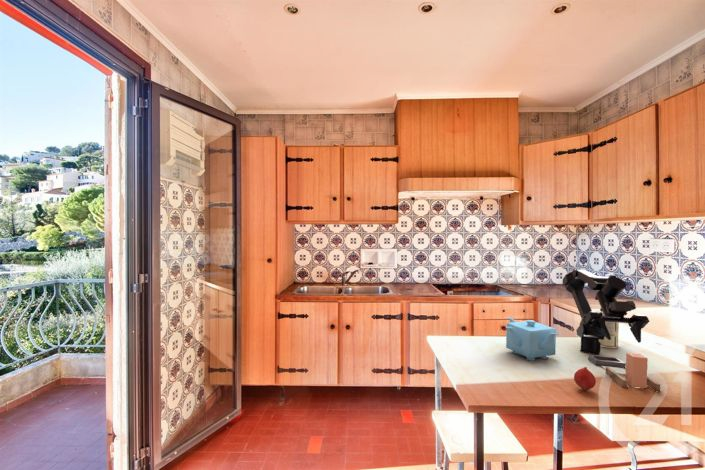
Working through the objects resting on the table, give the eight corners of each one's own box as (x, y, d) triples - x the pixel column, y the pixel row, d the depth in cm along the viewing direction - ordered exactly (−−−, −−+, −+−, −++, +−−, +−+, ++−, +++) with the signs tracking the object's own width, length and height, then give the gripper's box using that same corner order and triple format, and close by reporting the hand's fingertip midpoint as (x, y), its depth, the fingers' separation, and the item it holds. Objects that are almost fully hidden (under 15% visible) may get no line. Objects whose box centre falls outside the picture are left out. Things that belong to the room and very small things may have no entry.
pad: (601, 366, 123) (601, 365, 123) (622, 369, 121) (622, 368, 121) (609, 373, 117) (609, 372, 117) (632, 375, 115) (632, 374, 115)
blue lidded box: (552, 352, 137) (553, 318, 137) (558, 368, 120) (560, 330, 120) (504, 344, 145) (505, 312, 145) (504, 358, 129) (505, 323, 128)
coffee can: (586, 339, 155) (587, 310, 154) (612, 342, 151) (613, 313, 151) (595, 346, 145) (596, 316, 145) (622, 349, 142) (623, 318, 141)
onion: (569, 386, 106) (570, 362, 106) (585, 385, 107) (586, 362, 107) (583, 395, 101) (584, 370, 100) (600, 394, 101) (600, 370, 101)
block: (625, 382, 110) (626, 352, 110) (638, 383, 109) (639, 353, 109) (632, 387, 106) (633, 356, 106) (646, 389, 105) (647, 358, 105)
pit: (588, 359, 130) (588, 354, 130) (616, 362, 127) (616, 357, 127) (595, 365, 124) (595, 360, 124) (625, 368, 122) (625, 363, 122)
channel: (605, 373, 117) (605, 366, 117) (638, 377, 114) (638, 370, 114) (623, 387, 106) (623, 380, 106) (660, 392, 104) (660, 384, 104)
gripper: (589, 290, 121) (603, 327, 111) (647, 293, 117) (667, 332, 106) (579, 306, 129) (591, 342, 119) (633, 309, 125) (651, 347, 114)
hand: (624, 340), depth 114 cm, fingers open, 9 cm apart
